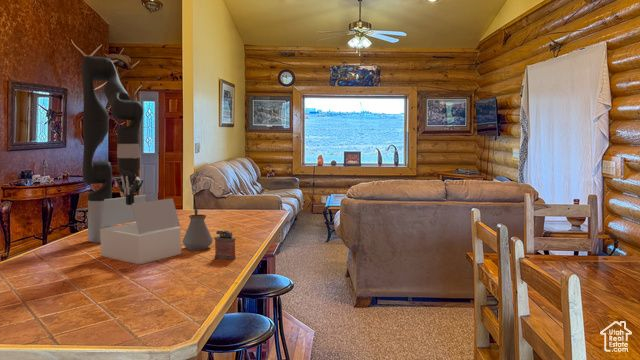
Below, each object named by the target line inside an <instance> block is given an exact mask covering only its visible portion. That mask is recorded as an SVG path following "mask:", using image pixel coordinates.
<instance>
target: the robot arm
mask: <svg viewBox="0 0 640 360" xmlns="http://www.w3.org/2000/svg"><path fill="white" fill-rule="evenodd" d="M81 77H82V78H81V79H82V80H81V81H82V91H83V92H82V93H83V94H82V95H83V110H82V111H83V113H82V116H83V117H82V125H83V126H82V127H83V128H82V130H83V131H82V133H83V156H82V180H83V183H84V184H86V185H87V184H88V185H91V184H92V185H93V184H94V185H95V184H102V186H101V187H100V188H98V189H96V190H94V191H91V192H89V193H88V194H87V210H88V211H87V215H88V216H87V235H88V236H87V237H88V238H87V239H88V241H89V242H90V243H95V244H96V243H97V244H98V243H100V244H101V238H100V229H102V228H108V227H114V225H111V226H105V227H101V221H102V213H103V205H104V199H113V188H112V187H113V186H112V183H113V168H112V164H111V162H110V161H107V160H102V161H101V160H98V161H97V160H96V161H95V160H94V161H93V159H94V156H95V155H94V154H95V153H96V150H97V149H98V147H99V146H100V145H101V143H102V142H103V140H105V137H106V136H107V134H108V133H109V123H110V122H109V121H110V119H109V113H108V111H107V109H106V107H105V106H104V105H103V103H102V101H101V100H100V98H99V97H98V95H97V93H96V90H95V85H94V81H97V82H105V85H104V88H103V91H104V95H105V97H106V99H107V100H108V102H109V104H110V113H111V116H112V117H113V118H114V119H115V120H118V121H130V122H129V124H128V125H126V126H121V127H118V128H117V132H116V133H117V135H116V136H117V146H116V147H117V148H116V155H117V156H116V157H117V158H116V160H117V162H116V163H117V170H118V171H120V172H119V177H118V178H116V179H115V181H116V184H117V186H118V188H119V190H120V192H121V193H123V194H124V195H125V197H126V205H132V203H134V196H135V194H138V193H139V191H140V189H141V188H142V186H143V183H144V179H140V176H139V171H140V169H141V151H140V150H141V149H140V144H139V141H140V140H139V133H140V126H141V123H142V119H143V115H144V108H143V104H142V103H141V102H140V101H138V100H135V99H133V100H131V98H130V95H129V93H128V91H127V90H126V89H125V88H124V85H123V83H122V82H121V79H120V77H119V73H118V72H117V69H116V67H115V64H114V62H113V60H111V58H109V57H104V56H94V55H93V56H91V55H85V56H83V57H82V61H81Z"/></svg>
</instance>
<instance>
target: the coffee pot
mask: <svg viewBox="0 0 640 360" xmlns="http://www.w3.org/2000/svg"><path fill="white" fill-rule="evenodd" d="M192 209H193V210H194V214H190V215H189V216H188V218H189V220H190V222H189V224H188V227H187V229H186V230H185V231H186V232H185V234H184V236H183V238H182V245H183V246H184V247H185V248H187V249H188V250H190V251H203V250H206V249H208V248H209V247H210V246H211V245H212V243H213V241H214V240H213V237H212V235H211V233H210V231H209V230H210V229H208V226H207V224H206V221H205V219H206V217H207V215H206V214H198V211H199V210H198V209H199V206H198V205H196V204H195V205H194V206H193V207H192Z"/></svg>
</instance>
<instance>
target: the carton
mask: <svg viewBox="0 0 640 360" xmlns="http://www.w3.org/2000/svg"><path fill="white" fill-rule="evenodd" d="M181 229H182V228H181V227H180V226H176V227H171V228H166V229H160V230H155V231H150V232H145V233H139V231H138V227H137V223H136V222H131V223H125V224H119V225H113V227H108V228H102V229H100V238H101V242H100V256H101V257H105V258H108V259H114V260H116V261H117V260H118V261H121V262H127V263H130V264H135V265H144V264H149V263H151V262H156V261H159V260H163V259H167V258H171V257H174V256H175V257H176V256H178V255H182V233H181V232H182V230H181Z"/></svg>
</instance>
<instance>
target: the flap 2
mask: <svg viewBox="0 0 640 360" xmlns="http://www.w3.org/2000/svg"><path fill="white" fill-rule="evenodd" d="M132 208H133V212H134V216H135V220H136V222H135V223H137V227H138V231H139V233H145V232H150V231H155V230H160V229H166V228H171V227H180V221H179V217H178V213H177V208H176V205H175V202H174V198H173V197H172V198H165V199H164V198H163V199H157V200H151V201H150V200H148V201H145V202H140V203H132Z"/></svg>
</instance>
